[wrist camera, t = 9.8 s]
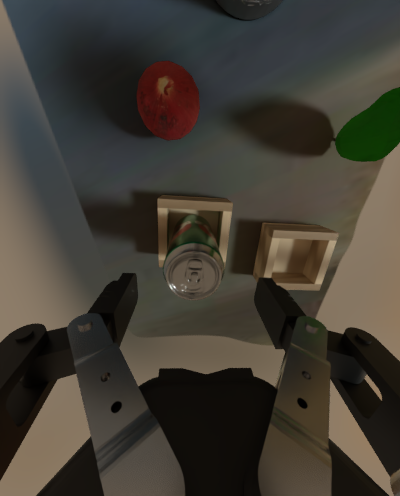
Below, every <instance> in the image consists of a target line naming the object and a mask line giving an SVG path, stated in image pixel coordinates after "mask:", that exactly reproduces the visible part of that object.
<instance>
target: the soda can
mask: <svg viewBox="0 0 400 496" xmlns="http://www.w3.org/2000/svg"><path fill="white" fill-rule="evenodd" d="M163 274H164V278H165V280H166V282H167V284H168V286H169V288H170V289H171V291H172V292H173V293H174V294H176V295H177V296H179V297H181V298H183V299H187V300H200V299H204V298H206V297H208V296H210V295H212V294H213V293H214V292H215V291H216V290H217V288H218V287H219V285H220V283H221V280H222V278H223V275H224V262H223V259H222V256H221V254H220V251H219V248H218V245H217V243H216V240H215V237H214V234H213V231H212V229H211V226H210V224H209V223H208V221H207V220H206V219H204V218H203V217H201V216H198V215H187V216H185V217H183V218H181V219H180V220H179V221H178V222H177V224H176V226H175V228H174V232H173V235H172V238H171V241H170V244H169V248H168V251H167V254H166V257H165V260H164V264H163Z"/></svg>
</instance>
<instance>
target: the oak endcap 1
mask: <svg viewBox="0 0 400 496" xmlns="http://www.w3.org/2000/svg"><path fill="white" fill-rule="evenodd" d="M232 206H233V203H232V202H231V201H229V200H228V199H223V198H206V197H188V196H171V195H162V196H160V197H159V198H158V243H159V267H163V264H164V260H165V257H166V254H167V251H168V248H169V244H170V241H171V238H172V235H173V232H174V228H175V226H176V224H177V222H178V221H179V220H180V219H181V218H183V217H185V216H187V215H198V216H201V217H203V218H204V219H206V220H207V221H208V223H209V224H210V226H211V229H212V231H213V234H214V237H215V240H216V243H217V245H218V248H219V251H220V254H221V256H222V259H223V262H224V269H225V262H226V254H227V246H228V238H229V230H230V222H231V214H232Z"/></svg>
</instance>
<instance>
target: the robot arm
mask: <svg viewBox="0 0 400 496" xmlns="http://www.w3.org/2000/svg"><path fill="white" fill-rule="evenodd" d="M216 1H217V3H218V4H219V5H220V6H221V7H222V8H223V9H224V10H225V11H226V12H227V13H229V14H231V15H232V16H234V17H236V18H240V19H243V20H254V19H258V18H261V17H264V16H265V15H267V14H269V13H270V12H272V11H273V10H274V9H275V8H276V7H277V6H278V5H279V4H280V3H281V2H282V1H283V0H216ZM137 300H138V289H137V277H136V274H135V273H123V274H122V275H121V277H120V278H119V280H118V281H112V282H111V283H109V284H108V285H107V286H106V287H105V289H104V290H103V292H102V293H101V294H100V296H99V297H98V298H97V300H96V301H95V303H94V304H93V306H92V307H91V308H90V310H89V311H88V313H87V314H83V315H81V316H78V317H77V318H75V319H74V320H72V321H71V322H70V323H69V325H68V327H64V328H60V329H55V330H51V331H46V328H45V326H44V325H42V324H30V325H26V326H23V327H21V328H19V329H17V330H15V331H13V332H12V333H10V334H9V335H8V336H7V337H6V338H5V339H4V340H3V341H2V342H1V343H0V480H1V479H2V477H3V475H4V473H5V472H6V470H7V468H8V466H9V464H10V463H11V461H12V459H13V457H14V455H15V454H16V452H17V450H18V448H19V447H20V445H21V443H22V441H23V440H24V438H25V436H26V434H27V433H28V431H29V429H30V427H31V425H32V424H33V422H34V420H35V418H36V416H37V415H38V413H39V411H40V409H41V408H42V406H43V404H44V402H45V400H46V399H47V397H48V395H49V393H50V392H51V390H52V388H53V386H54V384H55V383H56V381H57V379H60V378H63V377H66V376H70V375H73V374H77V378H78V382H79V387H80V391H81V395H82V400H83V404H84V408H85V412H86V417H87V421H88V425H89V429H90V434H91V437H90V438H89V439H88V440H87V441H86V442H85V443H84V445H83V446H82V447H81V448H80V449H79V450H78V451H77V452H76V453H75V454H74V455H73V456H72V457H71V459H70V460H69V461H68V462H67V463H66V464H65V465H64V466H63V467H62V468H61V469H60V470H59V472H58V473H57V474H56V475H55V476H54V477H53V478H52V479H51V480H50V481H49V482H48V483H47V485H46V486H45V487H44V488H43V489H42V490H41V491H40V492H39V493H38V494H37V495H36V496H389V495H388V494H387V493H386V492H385V491H384V490H383V489H382V488H381V487H379V486H378V485H377V484H376V483H375V482H374V481H373V480H372V479H371V478H370V477H369V476H368V475H367V474H366V473H365V472H364V471H363V470H362V469H361V468H360V467H359V466H358V465H356V464H355V463H354V462H353V461H352V460H351V459H350V458H349V457H348V456H347V455H346V454H345V453H344V452H343V451H342V450H341V449H340V448H339V447H338V446H337V445H336V444H335V443H333V442H332V441H331V440H330V439H329V438H328V437H329V404H330V379H331V381H332V382H333V384H334V385H335V387H336V389H337V390H338V392H339V394H340V395H341V397H342V399H343V400H344V402H345V404H346V405H347V407H348V409H349V410H350V412H351V413H352V415H353V417H354V418H355V420H356V421H357V423H358V425H359V427H360V428H361V430H362V432H363V433H364V435H365V436H366V438H367V440H368V441H369V443H370V445H371V446H372V448H373V449H374V451H375V453H376V454H377V456H378V458H379V459H380V461H381V463H382V464H383V466H384V467H385V469H386V471H387V472H388V474H389V476H390V484H391V488H392V492H393V494H394V496H400V361H399V360H398V359H397V358H395V356H393V355H392V354H391V353H390V352H389V351H388V350H387V349H386V348H385V347H384V346H383V345H382V344H381V343H380V342H379V341H378V340H377V339H376V338H375V337H374V336H372V335H371V334H369V333H367V332H365V331H363V330H361V329H357V328H347V329H346V330H345V332H344V334H340V333H336V332H332V331H328V330H327V329H326V327H325V326H324V325H323V324H322V323H321V322H319V321H318V320H316V319H314V318H311V317H308V316H306V315H305V313H304V312H303V311H302V310H301V308H300V307H299V306H298V305H297V303H296V302H295V301H294V299H293V298H292V297H291V296H290V294H289V293H288V292H287V290H285V289H284V288H283V287H281V286H280V285H277V284H276V283H275V282H274V280H273V279H272V278H267V277H260V278H259V279H258V282H257V287H256V292H255V296H254V303H255V306H256V308H257V311H258V313H259V315H260V317H261V319H262V321H263V323H264V325H265V327H266V330H267V332H268V334H269V336H270V338H271V340H272V342H273V344H274V347H275V349H284V350H285V355H284V358H283V362H282V365H281V368H280V372H279V375H278V378H277V382H276V385H275V387H274V386H273V385H271V384H269V383H268V382H266V381H264V380H262V379H260V378H257V377H254V376H253V373H252V370H251V368H228V369H225V370H221V371H218V372H214V373H211V374H202V373H198V372H194V371H191V370H186V369H183V368H182V369H181V368H180V369H179V368H176V369H175V368H174V369H173V368H172V369H171V368H170V369H159V376H158V377H156V378H153V379H151V380H148V381H147V382H145V383H143V384H142V385H140V386H139V387H138V385H137V383H136V381H135V379H134V377H133V375H132V373H131V371H130V369H129V367H128V365H127V363H126V361H125V359H124V357H123V354H122V352H121V350H120V348H119V347H120V344H121V342H122V339H123V337H124V334H125V332H126V329H127V327H128V324H129V322H130V319H131V316H132V314H133V311H134V309H135V306H136V304H137ZM366 375H368V376H369V377H370V378H371V380H372V381H373V382H374V383H375V385H376V386H377V387H378V388H379V390H380V392H381V395H382V401H381V400H380V399H379V397H378V396H377V395H376V393H375V392H374V391H373V389H372V388H371V387H370V386H369V384H368V383H367V382H366V380H365V379H364V378H365V376H366Z"/></svg>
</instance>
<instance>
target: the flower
mask: <svg viewBox="0 0 400 496" xmlns="http://www.w3.org/2000/svg"><path fill="white" fill-rule="evenodd" d="M399 142H400V87H399V88H395V89H392V90H390V91H389V92H387V93H385V94H383V95H382V96H381V97H380V98H379V99H378V100H377V101H376V102H375V103H373V104H372V105H371V106H370V107H369V108H368V109H366V110H364V111H363V112H361V113H360V114H358V115H357V116H355V117H353V118H352V119H351V120H350V121H349V122H348V123H347V124H346V125H345V126H344V127H343V128H342V129H341V130H340V132H339V133H338V135H337V137H336V142H335V145H336V149H337V151H338V153H339V154H340V156H341V157H343V158H346V159H349V160H352V161H361V162H365V161H377V160H380V159H382V158H384V157H385V156H387V155H388V154H389V153H390V152H391V151H392V150H393V149H394V148H395V147H396V146H397V145H398V144H399Z"/></svg>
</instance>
